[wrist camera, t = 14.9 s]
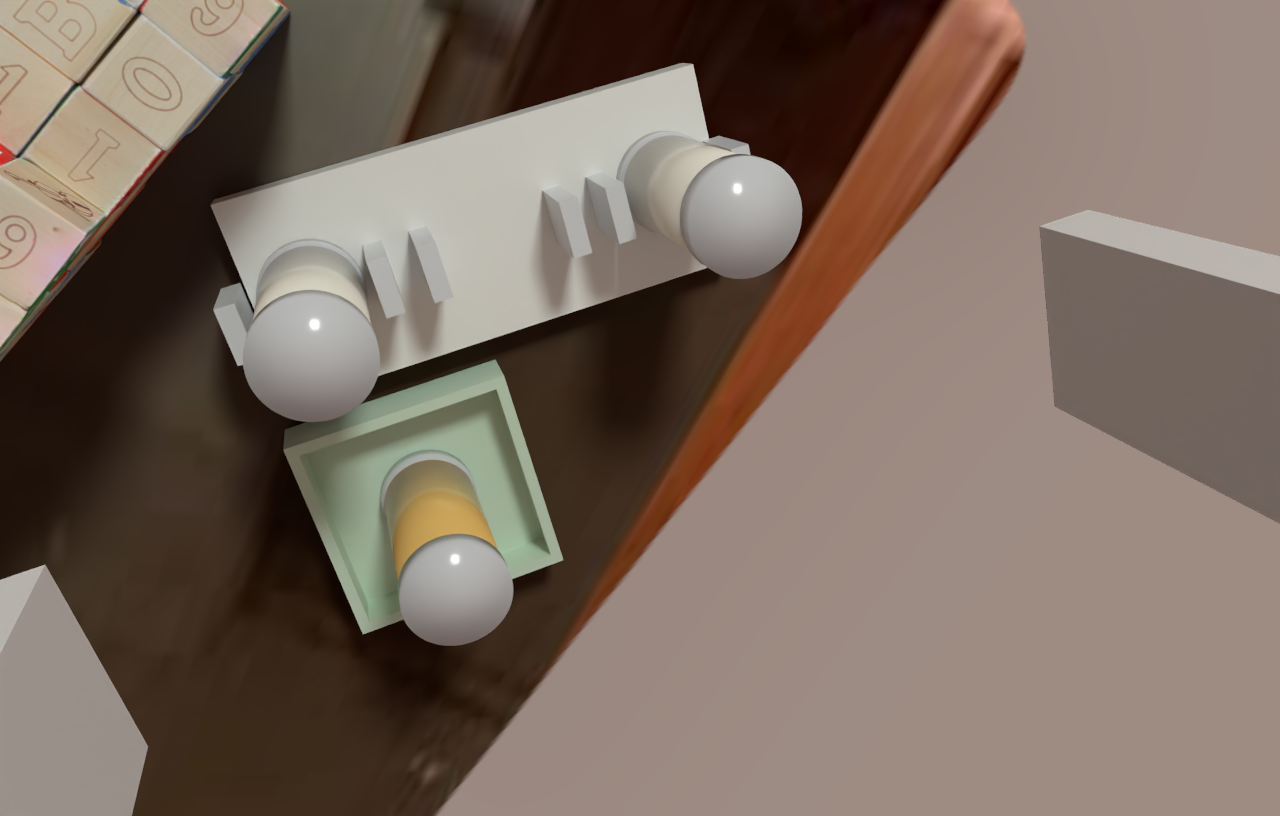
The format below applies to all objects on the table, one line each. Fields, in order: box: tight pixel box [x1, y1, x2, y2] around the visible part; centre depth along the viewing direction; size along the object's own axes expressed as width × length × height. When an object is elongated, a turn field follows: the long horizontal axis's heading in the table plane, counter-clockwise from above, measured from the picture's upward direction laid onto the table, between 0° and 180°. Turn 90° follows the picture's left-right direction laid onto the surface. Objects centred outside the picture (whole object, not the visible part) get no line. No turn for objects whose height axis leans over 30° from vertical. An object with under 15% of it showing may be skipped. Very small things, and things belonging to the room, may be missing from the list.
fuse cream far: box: [616, 131, 802, 279], centre depth 42 cm, size 4×4×10 cm
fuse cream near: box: [243, 239, 380, 422], centre depth 39 cm, size 4×4×10 cm
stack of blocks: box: [0, 0, 291, 361], centre depth 36 cm, size 21×6×12 cm, turn 136°
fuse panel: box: [211, 63, 750, 376], centre depth 44 cm, size 22×9×5 cm, turn 104°
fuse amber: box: [380, 450, 513, 646], centre depth 45 cm, size 4×4×10 cm
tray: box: [283, 360, 563, 634], centre depth 49 cm, size 10×10×2 cm
